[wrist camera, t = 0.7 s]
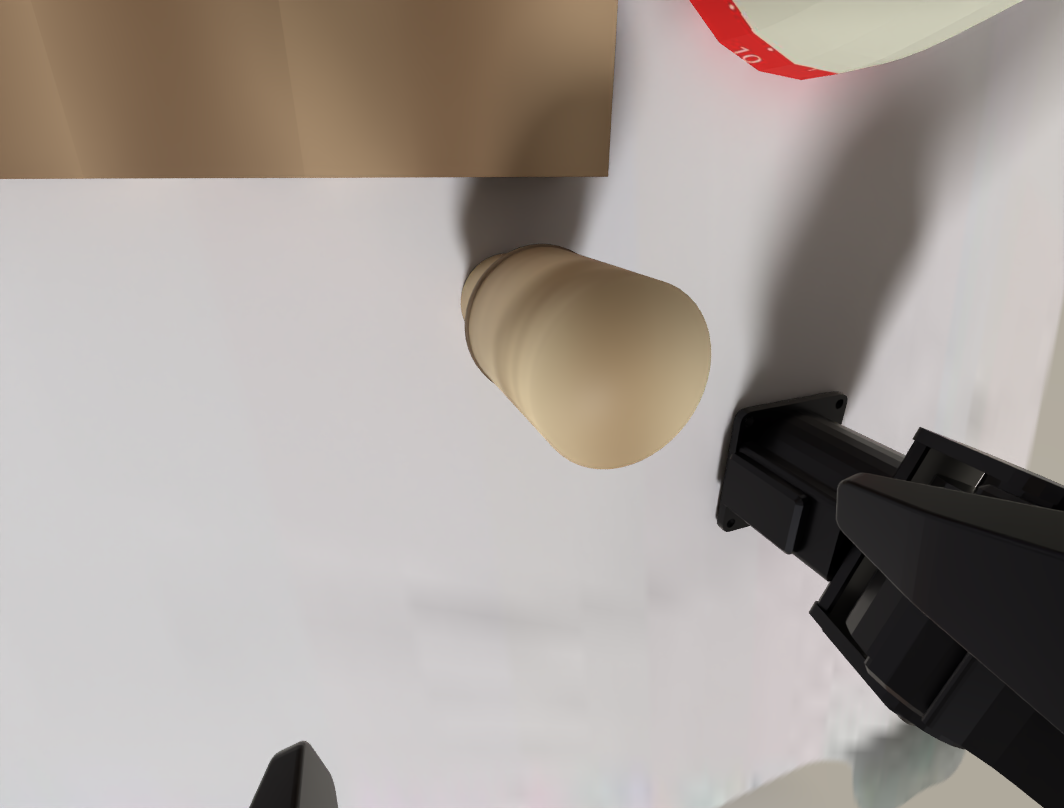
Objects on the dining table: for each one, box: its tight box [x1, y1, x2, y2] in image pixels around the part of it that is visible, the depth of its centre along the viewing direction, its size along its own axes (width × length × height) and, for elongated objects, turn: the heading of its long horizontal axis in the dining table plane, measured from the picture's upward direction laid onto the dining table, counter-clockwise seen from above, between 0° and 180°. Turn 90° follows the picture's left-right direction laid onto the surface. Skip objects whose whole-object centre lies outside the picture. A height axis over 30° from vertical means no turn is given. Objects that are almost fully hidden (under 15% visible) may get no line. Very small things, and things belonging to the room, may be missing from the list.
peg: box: [461, 244, 711, 469], centre depth 15 cm, size 4×4×8 cm
